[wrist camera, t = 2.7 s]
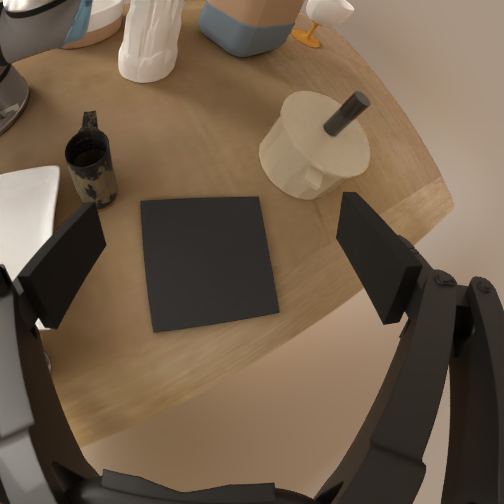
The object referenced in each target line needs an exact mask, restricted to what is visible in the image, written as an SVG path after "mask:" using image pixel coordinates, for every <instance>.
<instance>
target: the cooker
mask: <svg viewBox="0 0 504 504" xmlns="http://www.w3.org/2000/svg"><path fill="white" fill-rule="evenodd" d="M328 97H329V96H328ZM329 98H330V97H329ZM331 99H332V98H331ZM333 100H334V99H333ZM336 102H337V101H336ZM259 158H260V162H261V165H262V168H263V170H264V172H265V173H266V175H267V176H268V178H269V179H270V180H271V181H272V183H273V184H274V185H276V186H277V187H278V188H279V189H280V190H282V191H283V192H285V193H286V194H288V195H290V196H292V197H295V198H298V199H302V200H314V199H318V198H320V197H322V196H325V195H326V194H328V193H329V192H330V191H332V190H333V189H335V188H336V187H338V186H339V185H340V184H342V183H343V182H345V181H346V180H348V179H349V178H340V177H336V176H332V175H330V174H327V173H325V172H323V171H321V170H320V169H318V168H317V167H315V166H314V165H312V164H311V163H310V162H308V161H307V160H306V159H305V158H304V157H303V156H302V155H301V154H300V153H299V152H298V151H297V150H296V149H295V147H294V146H293V145H292V143H291V142H290V140H289V139H288V137H287V135H286V133H285V131H284V129H283V126H282V123H281V116H280V113H279V115H278V116H277V117H276V119H275V120H274V122H273V123H272V124H271V126H270V127H269V129H268V130H267V132H266V133H265V135H264V137H263V139H262V140H261V143H260V146H259Z"/></svg>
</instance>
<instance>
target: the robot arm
mask: <svg viewBox="0 0 504 504" xmlns="http://www.w3.org/2000/svg"><path fill="white" fill-rule="evenodd" d="M92 2H93V0H4V1H3V2H0V135H1V134H3V133H4V132H5V131H6V130H7V129H8V128H10V127H11V126H12V125H13V124H14V122H15V121H16V120H17V119H18V118H19V116H20V115H21V114H22V112H23V111H24V109H25V107H26V105H27V103H28V100H29V95H30V91H29V87H28V84H27V82H26V80H25V79H24V78H23V77H22V76H21V75H20V74H19V73H18V71H17V70H16V69H15V68H14V67H13V66H12V64H11V63H14V62H16V61H19V60H22V59H24V58H27V57H30V56H33V55H36V54H39V53H42V52H45V51H49V50H52V49H56V48H60V47H63V46H64V45H67V44H70V43H73V42H76V41H79V40H80V39H82V38H83V37H84V36H85V35H86V33H87V30H88V25H89V20H90V15H91V9H92ZM336 239H337V240H338V242H339V244H340V245H341V247H342V249H343V250H344V252H345V254H346V256H347V257H348V259H349V261H350V263H351V264H352V266H353V268H354V270H355V272H356V273H357V275H358V277H359V279H360V281H361V283H362V284H363V286H364V288H365V290H366V292H367V294H368V296H369V298H370V299H371V301H372V303H373V305H374V307H375V309H376V311H377V313H378V315H379V317H380V319H381V321H382V323H383V325H385V324H392V323H398V322H400V320H401V318H402V315H403V313H404V311H405V312H406V314H407V316H408V321H407V322H406V325H405V327H404V328H403V331H402V332H401V335H400V336H399V337H400V338H401V339H400V342H399V345H398V347H397V350H396V353H395V355H394V358H393V360H392V363H391V365H390V368H389V370H388V372H387V375H386V377H385V380H384V382H383V384H382V386H381V388H380V390H379V393H378V395H377V397H376V399H375V401H374V403H373V406H372V407H371V409H370V411H369V413H368V415H367V417H366V420H365V421H364V423H363V425H362V427H361V429H360V430H359V432H358V434H357V436H356V438H355V440H354V441H353V443H352V445H351V446H350V448H349V450H348V451H347V453H346V455H345V456H344V458H343V460H342V461H341V463H340V464H339V466H338V467H337V469H336V470H335V471H334V473H333V474H332V475H331V476H330V477H329V479H328V480H327V481H326V482H325V484H324V485H323V486H322V488H321V489H320V491H319V492H318V493H317V495H316V496H315V497H314V499H312V498H310V497H307V496H305V495H303V494H300V493H297V492H294V491H290V490H285V489H279V488H275V484H274V483H262V484H241V485H240V484H237V485H225V486H221V487H216V488H210V489H205V490H198V491H192V492H179V491H176V490H173V489H170V488H167V487H164V486H162V485H159V484H156V483H154V482H151V481H149V480H147V479H144V478H142V477H138V476H132V475H128V474H123V473H118V472H114V471H110V470H106V469H103V475H102V476H99V474H98V473H97V472H96V471H95V469H93V467H92V466H91V465H90V464H89V463H88V462H87V461H86V459H85V458H84V456H83V454H82V452H81V450H80V448H79V446H78V444H77V442H76V440H75V438H74V435H73V433H72V431H71V429H70V426H69V424H68V422H67V419H66V417H65V414H64V412H63V409H62V407H61V404H60V401H59V399H58V396H57V393H56V390H55V387H54V384H53V381H52V378H51V375H50V371H49V368H48V365H47V361H46V357H45V354H44V350H43V346H42V342H41V337H40V333H39V329H38V327H37V326H36V324H35V323H36V321H37V319H38V318H39V319H40V321H41V323H42V324H43V326H44V328H49V329H58V327H59V325H60V323H61V321H62V319H63V317H64V315H65V313H66V311H67V310H68V308H69V306H70V304H71V302H72V300H73V299H74V297H75V295H76V293H77V292H78V290H79V288H80V287H81V285H82V283H83V282H84V280H85V278H86V277H87V275H88V273H89V272H90V270H91V268H92V267H93V265H94V264H95V262H96V260H97V259H98V257H99V256H100V254H101V253H102V251H103V250H104V248H105V247H106V242H105V238H104V234H103V231H102V227H101V223H100V219H99V215H98V211H97V207H96V202H86V203H83V204H82V205H81V206H80V207H79V208H78V209H77V210H76V211H75V212H74V213H73V214H72V215H71V216H70V217H69V218H68V219H67V220H66V221H65V222H64V223H63V224H62V225H61V226H60V227H59V228H58V229H57V230H56V231H55V232H54V233H53V234H52V236H51V237H50V238H49V239H48V240H47V241H46V242H45V243H44V244H43V245H42V246H41V248H40V249H39V250H38V251H37V252H36V253H35V254H34V256H33V257H32V258H31V259H30V260H29V262H28V263H27V264H26V265H25V266H24V268H23V269H22V270H21V271H20V273H19V274H18V275H17V276H16V278H15V279H14V280H13V282H12V280H11V278H10V276H9V274H8V272H7V270H6V268H5V265H3V264H0V504H412V503H413V501H414V499H415V497H416V495H417V493H418V491H419V489H420V487H421V484H422V482H423V479H424V476H425V473H426V465H425V464H424V463H423V462H422V457H423V454H424V451H425V448H426V446H427V443H428V440H429V437H430V434H431V431H432V428H433V425H434V422H435V418H436V415H437V411H438V408H439V404H440V400H441V397H442V393H443V388H444V384H445V380H446V375H447V370H448V365H449V373H450V431H449V446H448V456H447V465H446V473H445V479H444V485H443V492H442V498H441V504H504V310H503V307H502V305H501V302H500V299H499V297H498V294H497V292H496V289H495V288H494V286H493V285H492V284H491V283H490V281H488V280H487V279H485V278H482V277H477V276H476V277H473V278H472V280H471V281H470V284H469V286H463V285H457V282H456V280H455V279H454V278H453V277H452V276H451V275H450V274H448V273H446V272H444V271H441V270H433V268H432V267H431V266H430V265H429V264H428V263H427V261H426V260H425V259H424V258H423V257H422V256H421V254H419V252H418V251H417V250H416V249H415V248H414V246H413V245H412V244H411V243H410V242H409V241H408V240H407V239H405V238H403V237H402V236H400V235H396V233H395V232H394V231H393V230H392V229H391V228H390V227H389V226H388V225H387V224H386V223H385V221H384V220H383V219H382V218H381V217H380V216H379V215H378V214H377V213H376V212H375V211H374V210H373V209H372V208H371V207H370V206H369V205H368V204H367V203H366V202H365V201H364V200H363V199H362V198H361V197H360V196H359V195H358V194H357V193H356V192H343V196H342V203H341V210H340V217H339V223H338V230H337V236H336Z"/></svg>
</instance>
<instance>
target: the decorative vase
mask: <svg viewBox="0 0 504 504" xmlns="http://www.w3.org/2000/svg"><path fill="white" fill-rule="evenodd" d="M184 2H185V0H131V5H130V10H129V12H128V14H127V16H126V23H125V31H124V40H123V43H122V45H121V47H120V50H119V56H118V68H119V72H120V74H121V75H122V77H124V78H126V79H128V80H131V81H134V82H136V83H137V82H139V83H149V82H154V81H158V80H160V79H163V78H165V77H166V76H168V75H169V74H170V72H171V71H172V70H173V69H174V66H175V62H176V58H177V53H178V45H177V40H178V36H179V32H180V28H181V24H182V21H181V17H180V16H181V13H182V9H183V6H184Z"/></svg>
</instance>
